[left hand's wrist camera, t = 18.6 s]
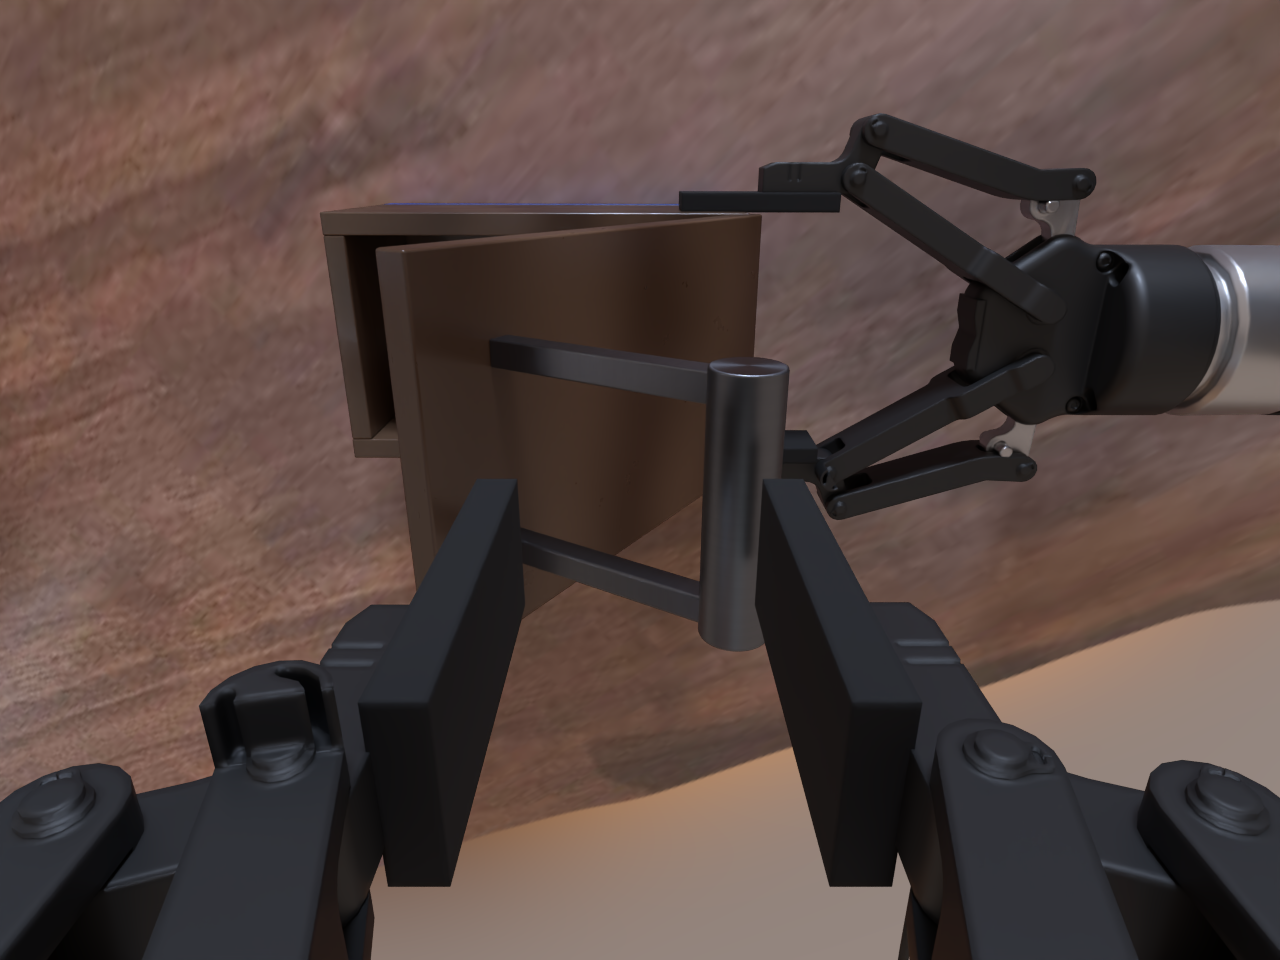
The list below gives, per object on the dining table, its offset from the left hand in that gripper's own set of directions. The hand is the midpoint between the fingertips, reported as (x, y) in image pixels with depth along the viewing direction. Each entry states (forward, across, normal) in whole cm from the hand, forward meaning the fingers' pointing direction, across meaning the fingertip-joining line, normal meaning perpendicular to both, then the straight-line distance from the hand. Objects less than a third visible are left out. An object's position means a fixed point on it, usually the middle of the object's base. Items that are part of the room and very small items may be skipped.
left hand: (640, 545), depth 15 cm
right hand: (+22, -2, 0) cm, 22 cm away
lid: (+11, +1, 0) cm, 11 cm away
